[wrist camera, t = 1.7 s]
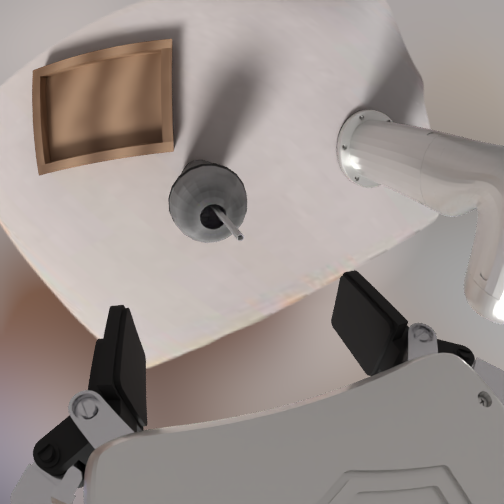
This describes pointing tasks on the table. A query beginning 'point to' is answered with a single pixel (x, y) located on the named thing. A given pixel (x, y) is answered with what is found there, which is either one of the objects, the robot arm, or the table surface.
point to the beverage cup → (208, 202)
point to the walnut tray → (103, 106)
